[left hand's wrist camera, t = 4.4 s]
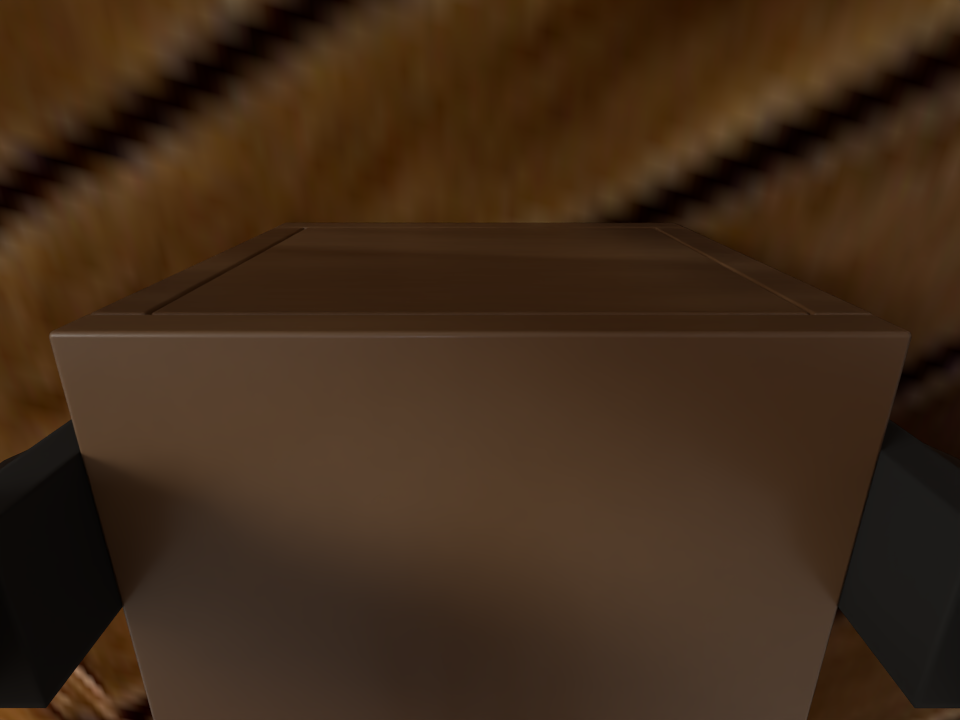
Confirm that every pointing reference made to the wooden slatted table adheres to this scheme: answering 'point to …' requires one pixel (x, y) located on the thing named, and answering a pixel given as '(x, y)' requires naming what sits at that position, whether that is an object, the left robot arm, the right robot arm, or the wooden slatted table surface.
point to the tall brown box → (480, 473)
